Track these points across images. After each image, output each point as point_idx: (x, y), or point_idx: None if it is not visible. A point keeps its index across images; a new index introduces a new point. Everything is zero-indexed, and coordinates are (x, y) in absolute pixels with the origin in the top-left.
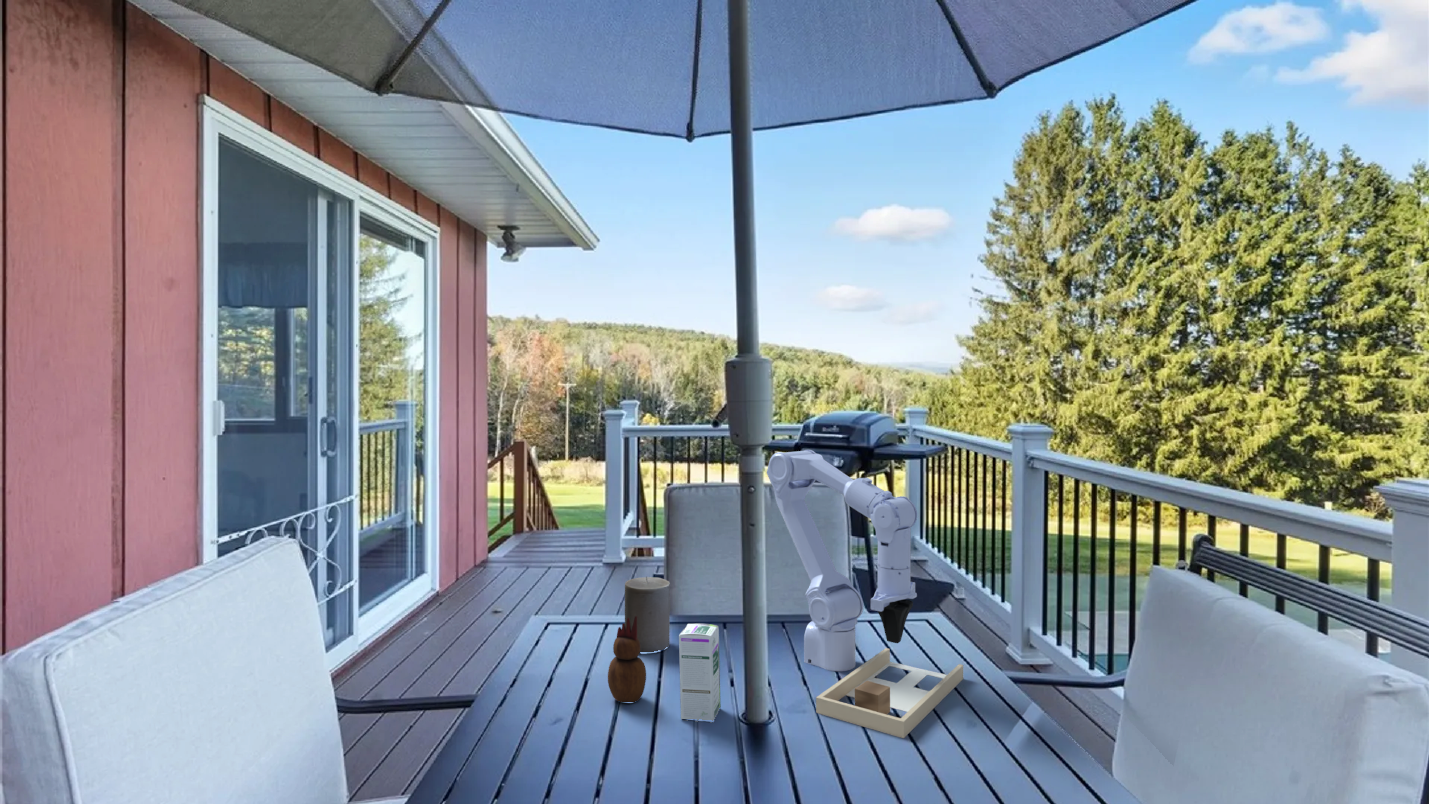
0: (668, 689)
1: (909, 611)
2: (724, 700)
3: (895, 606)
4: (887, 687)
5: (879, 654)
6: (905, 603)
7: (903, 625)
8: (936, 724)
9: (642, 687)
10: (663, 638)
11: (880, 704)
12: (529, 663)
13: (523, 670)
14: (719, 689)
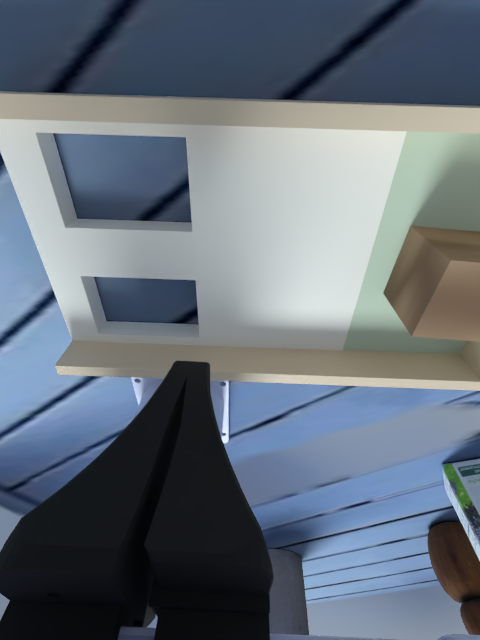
0: (394, 514)
1: (72, 483)
2: (406, 468)
3: (222, 594)
4: (459, 266)
5: (117, 372)
6: (110, 588)
7: (157, 416)
8: (374, 67)
9: (463, 541)
10: (276, 570)
11: None
12: (377, 587)
13: (397, 585)
14: (468, 498)
